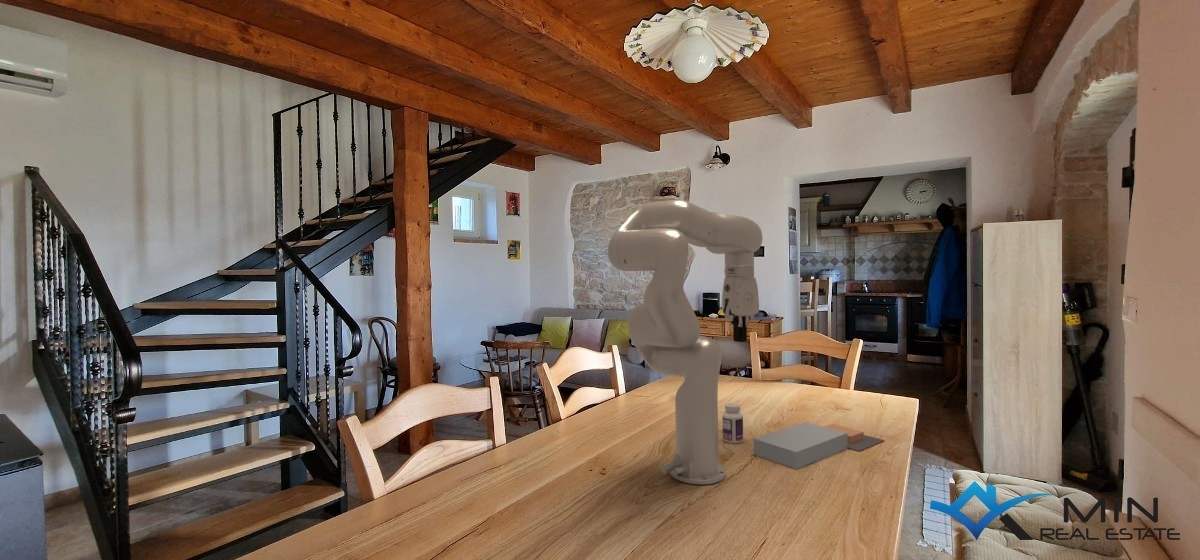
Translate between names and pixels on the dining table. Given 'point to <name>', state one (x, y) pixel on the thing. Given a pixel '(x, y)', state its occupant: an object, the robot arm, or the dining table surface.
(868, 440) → the mat
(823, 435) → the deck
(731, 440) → the pill bottle
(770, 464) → the dining table surface
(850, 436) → the tile
